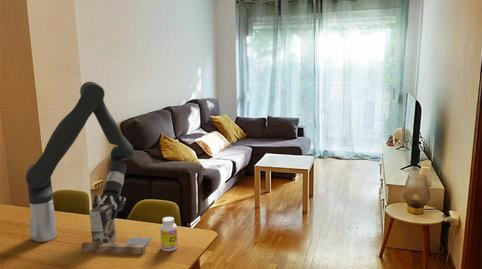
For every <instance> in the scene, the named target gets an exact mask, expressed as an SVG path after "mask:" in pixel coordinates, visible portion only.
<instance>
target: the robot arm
mask: <svg viewBox="0 0 482 269" xmlns="http://www.w3.org/2000/svg"><path fill="white" fill-rule="evenodd" d="M79 95H80V97H79V99H78V101H77V103H76V104H75V106H74V107H73V109H72V110H71V111H70V112H69V113H67V115H65V116H64V118H62V119H61V120H60V122H59V123H58V124H57V126H56V127H55V129H54V130H53V132H52V134H51V135H50V137H49V139H48V141H47V143H46V145H45V147H44V150H43V152H42V154H41V156H40V157H39V158H38V160H37V161H36V162H35V163H33V164H31V165H30V166H29V167H28V168H27V171H26V173H25V182H26V184H27V190H28V191H27V192H28V203H29V212H30V218H29V221H28V222H29V230H30V238H31V240H32V241H35V242H37V243H40V242H41V243H43V242H49V241H51V240H53V239H55V238H56V237H57V235H58V234H57V232H58V231H57V225H56V216H55V205H54V197H53V186H52V175H53V174H54V171H55V170H56V168H57V166H58V164H59V163H60V162H61V160H62V159H63V157H64V156H65V155H66V154H67V153H68V151H69V150H70V148H71V147H72V146H73V144H74V143H75V141H76V140H77V138H78V137H79V135H80V133H81V132H82V130H83V129H84V127H85V125H86V123H87V121H88V120H89V118H90V117H91V115H92V114H94V116H95V118H96V120H97V123H98V124H99V127H100V129H101V130H102V132H103V134H104V136H105V138H106V140H107V142H108V144H110V145H115V146H114V147H112V149H111V150H110V168H109V171H108V174H107V177H106V179H105V183H104V186H103V190H102V193H101V195H96V194H95V195H94V197H93V201H92V209H94V208H95V207H97V206H98V205H100V204H114V210H113V212H112V216H111V219H112V220H114V219H115V220H116V218H117V216H118V213H119V212H121V211H123V209H124V207H125V204H126V201H127V198H126V197H125V196H124V195H122V196H121V194H122V189H123V185H124V181H125V175H126V172H127V164H126V163H125V162H122V161H124V160H125V161H126V160H129V159H132V158H134V155H135V149H134V147H133V145H132V144H131V143H130V141H128V139H127V138H126V137H125V136H124V135H123V132H121V131H122V130H121V129H120V128H119V124H118V123H117V122H116V121H115V119H114V117H113V115H112V114H111V112H110V111H109V109H108V108H107V106H106V103H105V101H104V99H105V90H104V87H102V86H101V85H100V84H99V83H97V82H94V81H86V82H84V83H83V84H82V85H81V86H80V90H79ZM118 202H119V204H117V203H118Z"/></svg>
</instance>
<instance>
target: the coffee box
mask: <svg viewBox="0 0 482 269" xmlns="http://www.w3.org/2000/svg"><path fill="white" fill-rule="evenodd" d="M113 210H114V204H104V203H103V204H100V205H99V204H98V206H97V207H95V208H92V209H90V210H89V211H88V212H89V220H90V222H89V223H90V231H91V232H90V233H91V241H92V242H91V243H114V242H115V241H116V240H117V231H116V230H117V228H116V218H115V219H114V220H112V219H111V216H112V212H113Z"/></svg>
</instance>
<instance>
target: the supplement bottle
mask: <svg viewBox="0 0 482 269" xmlns="http://www.w3.org/2000/svg"><path fill="white" fill-rule="evenodd" d="M161 221H162V224H161V225H160V228H159V229H160V246H161V250H162V251H165V252H172V251H173V252H174V250H177V248H178V226H177V224H176V223H175V218H174V217H173V216H165V217H162V220H161Z"/></svg>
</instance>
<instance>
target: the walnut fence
mask: <svg viewBox="0 0 482 269" xmlns="http://www.w3.org/2000/svg"><path fill="white" fill-rule="evenodd" d="M81 252H82V253H103V254H123V255H124V254H127V255H144V254H145V253H146V247H145V245H139V244H126V243H114V242H112V243H92V242H85V241H83V243H82V244H81Z"/></svg>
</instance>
